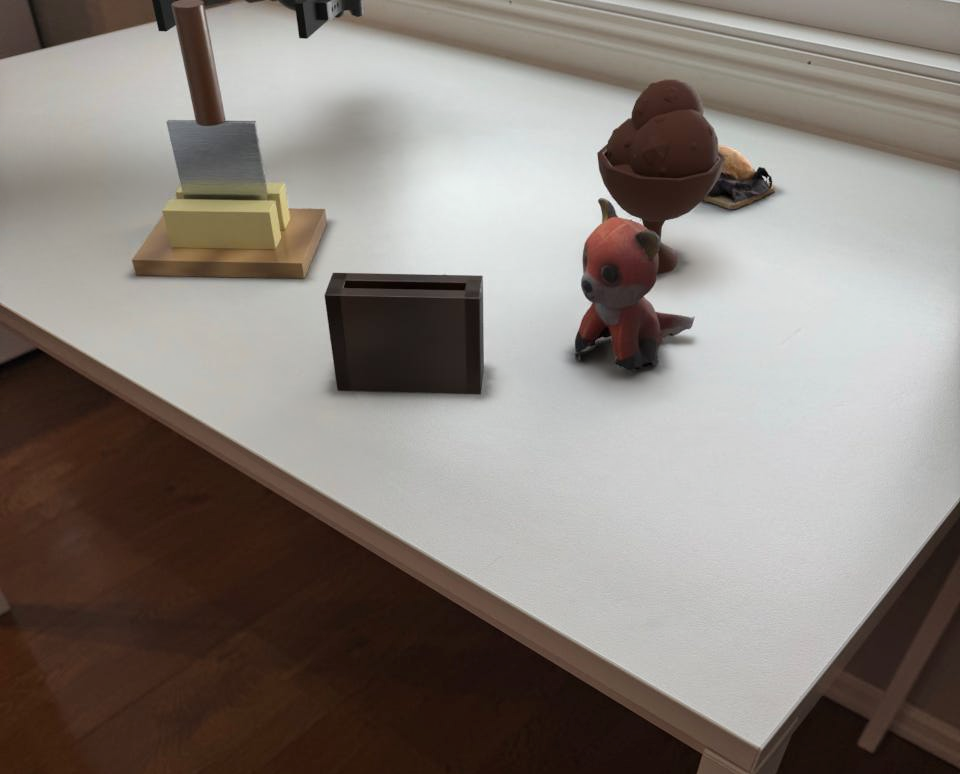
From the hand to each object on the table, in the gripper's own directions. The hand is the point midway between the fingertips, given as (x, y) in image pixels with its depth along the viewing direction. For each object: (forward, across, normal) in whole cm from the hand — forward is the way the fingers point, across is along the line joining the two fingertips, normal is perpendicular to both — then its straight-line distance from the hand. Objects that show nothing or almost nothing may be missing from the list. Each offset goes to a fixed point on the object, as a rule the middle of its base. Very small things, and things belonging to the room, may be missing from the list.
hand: (228, 17), depth 87 cm
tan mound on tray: (-16, -45, -18) cm, 51 cm away
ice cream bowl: (+3, -40, -18) cm, 44 cm away
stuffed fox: (+20, -40, -18) cm, 48 cm away
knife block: (+28, -23, -18) cm, 40 cm away
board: (+8, 0, -18) cm, 19 cm away
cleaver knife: (+8, 0, -16) cm, 18 cm away
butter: (+8, 0, -16) cm, 18 cm away
